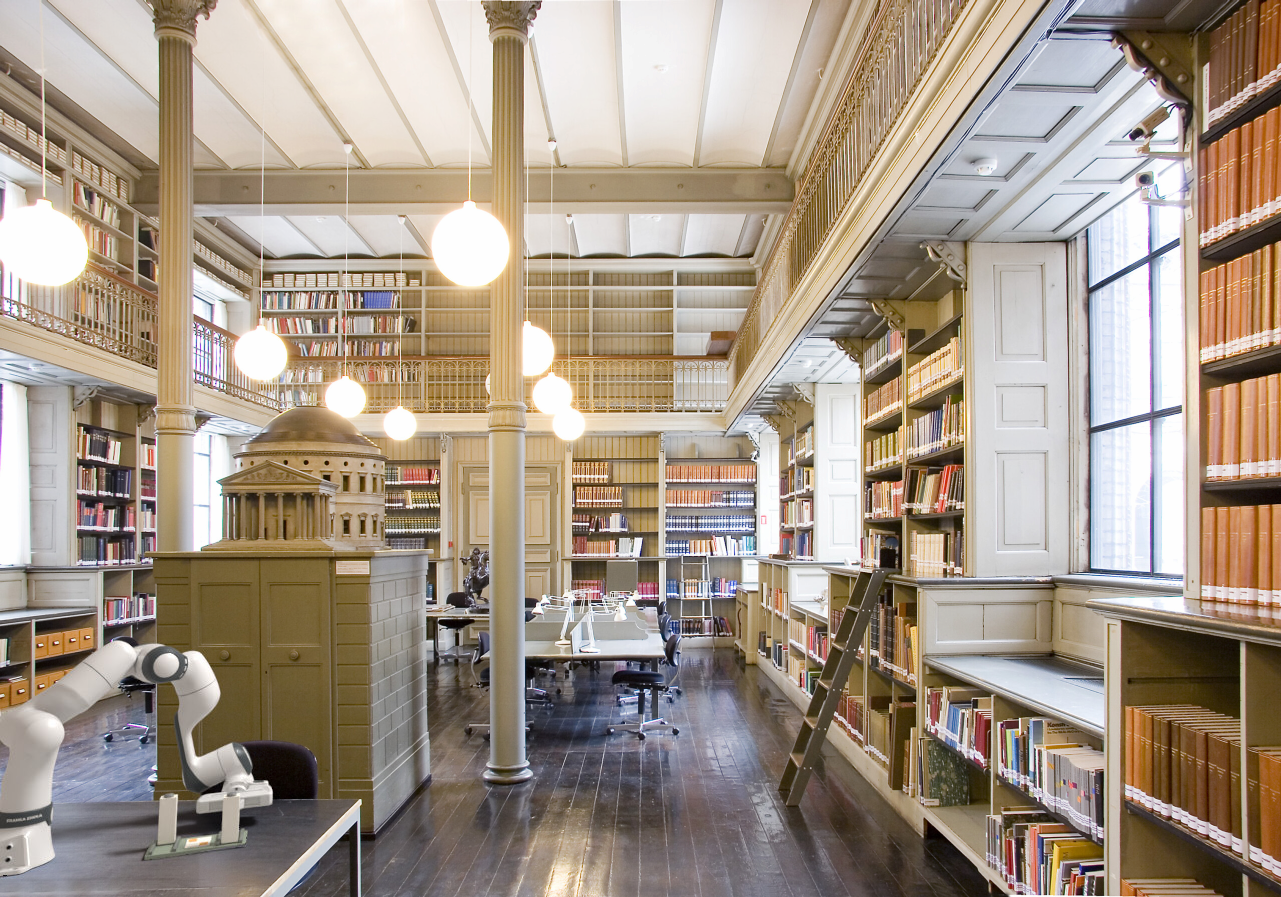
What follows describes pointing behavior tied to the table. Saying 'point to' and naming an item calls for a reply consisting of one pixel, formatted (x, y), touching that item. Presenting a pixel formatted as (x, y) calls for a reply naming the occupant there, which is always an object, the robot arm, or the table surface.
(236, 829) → the right switch
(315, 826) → the table surface
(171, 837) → the left switch
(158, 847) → the switch unit
